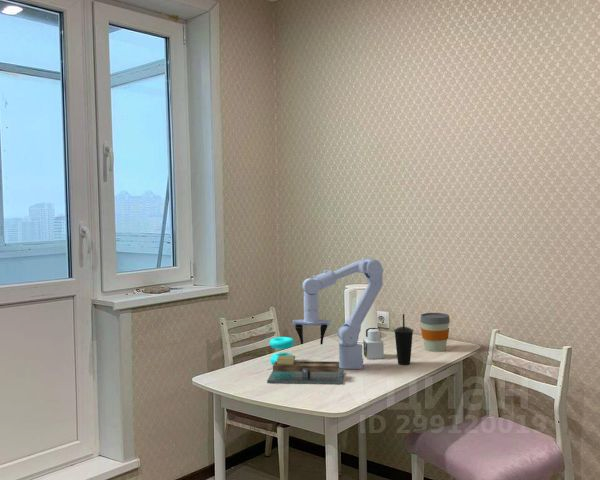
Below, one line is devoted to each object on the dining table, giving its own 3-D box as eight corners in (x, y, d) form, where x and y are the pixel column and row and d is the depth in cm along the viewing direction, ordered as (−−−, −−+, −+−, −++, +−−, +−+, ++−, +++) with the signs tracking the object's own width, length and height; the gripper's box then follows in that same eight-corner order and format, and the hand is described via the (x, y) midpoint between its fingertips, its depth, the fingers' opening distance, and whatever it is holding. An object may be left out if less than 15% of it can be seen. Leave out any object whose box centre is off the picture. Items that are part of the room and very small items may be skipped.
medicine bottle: (363, 355, 241) (363, 327, 241) (380, 354, 242) (379, 326, 241) (366, 359, 234) (366, 330, 234) (383, 358, 235) (383, 330, 234)
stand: (343, 372, 216) (343, 359, 215) (342, 384, 202) (341, 370, 201) (273, 372, 219) (273, 359, 219) (267, 383, 205) (266, 369, 205)
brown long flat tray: (339, 367, 212) (339, 361, 212) (338, 372, 206) (338, 366, 205) (275, 366, 215) (275, 361, 215) (272, 371, 208) (272, 365, 208)
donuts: (273, 335, 237) (296, 336, 235) (273, 359, 237) (296, 360, 235) (266, 341, 227) (291, 342, 225) (267, 366, 228) (291, 366, 226)
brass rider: (294, 363, 213) (294, 355, 213) (293, 366, 208) (293, 358, 208) (279, 363, 214) (278, 355, 213) (277, 366, 209) (277, 358, 209)
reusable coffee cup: (453, 347, 251) (453, 314, 250) (444, 354, 240) (444, 319, 239) (426, 344, 257) (426, 311, 257) (416, 350, 247) (416, 316, 246)
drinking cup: (409, 367, 221) (409, 316, 220) (391, 364, 226) (390, 314, 224) (416, 362, 228) (416, 313, 227) (398, 360, 232) (398, 311, 231)
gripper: (291, 311, 218) (292, 346, 218) (329, 311, 216) (329, 346, 217) (293, 307, 225) (294, 341, 225) (330, 307, 223) (330, 342, 224)
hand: (311, 343), depth 222 cm, fingers open, 7 cm apart
